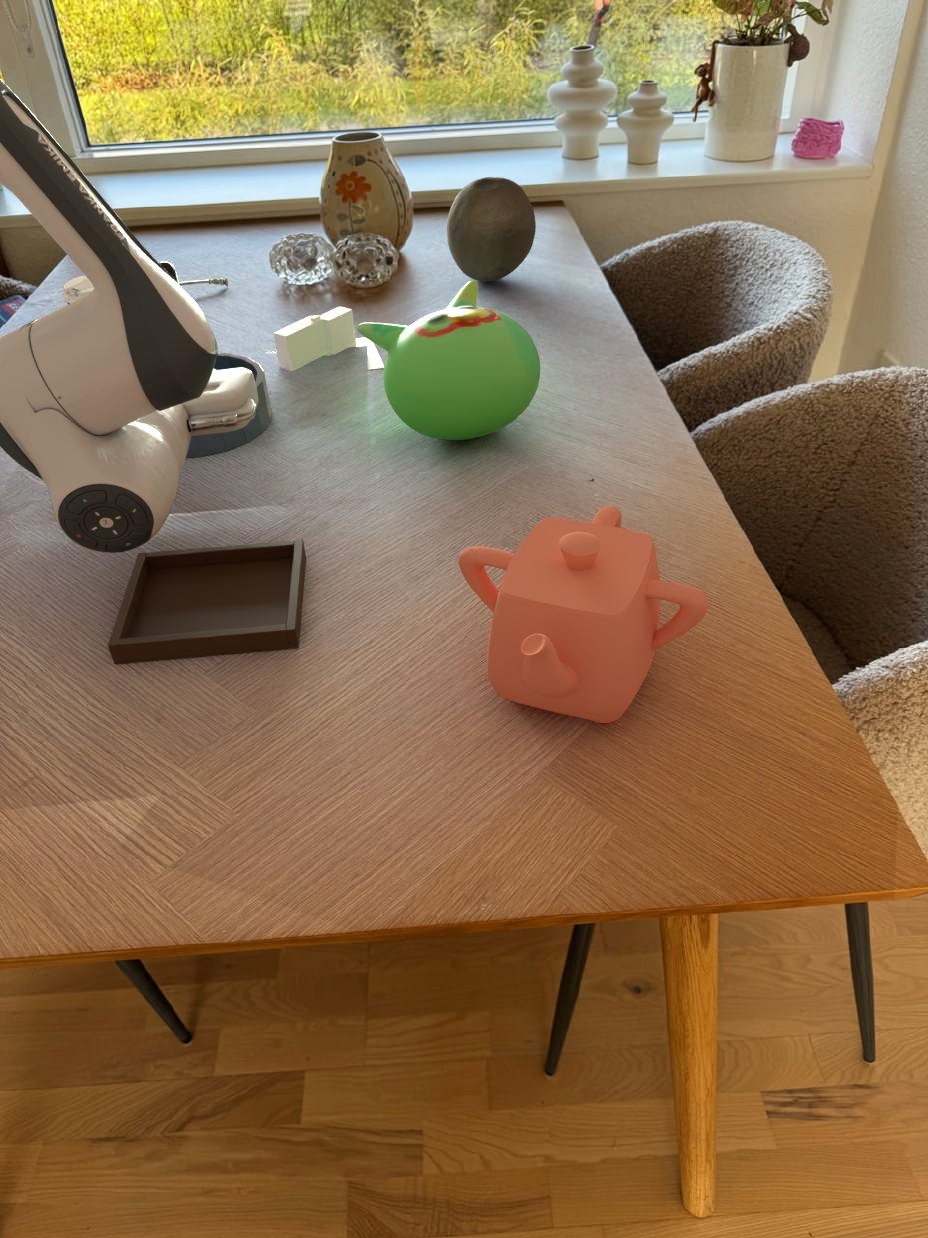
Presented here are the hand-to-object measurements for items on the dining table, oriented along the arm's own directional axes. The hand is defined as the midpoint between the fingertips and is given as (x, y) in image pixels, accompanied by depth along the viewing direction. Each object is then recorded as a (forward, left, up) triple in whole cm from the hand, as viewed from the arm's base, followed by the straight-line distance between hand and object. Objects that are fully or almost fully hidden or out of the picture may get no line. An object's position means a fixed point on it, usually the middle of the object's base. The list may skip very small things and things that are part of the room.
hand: (161, 375), depth 95 cm
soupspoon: (-13, +59, -12) cm, 61 cm away
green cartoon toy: (+31, +7, -12) cm, 34 cm away
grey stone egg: (+40, +56, -12) cm, 70 cm away
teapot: (+36, -38, -12) cm, 54 cm away
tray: (+6, -24, -12) cm, 28 cm away
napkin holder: (+14, +30, -12) cm, 35 cm away
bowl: (0, +12, -12) cm, 17 cm away
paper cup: (-12, +25, -12) cm, 30 cm away
